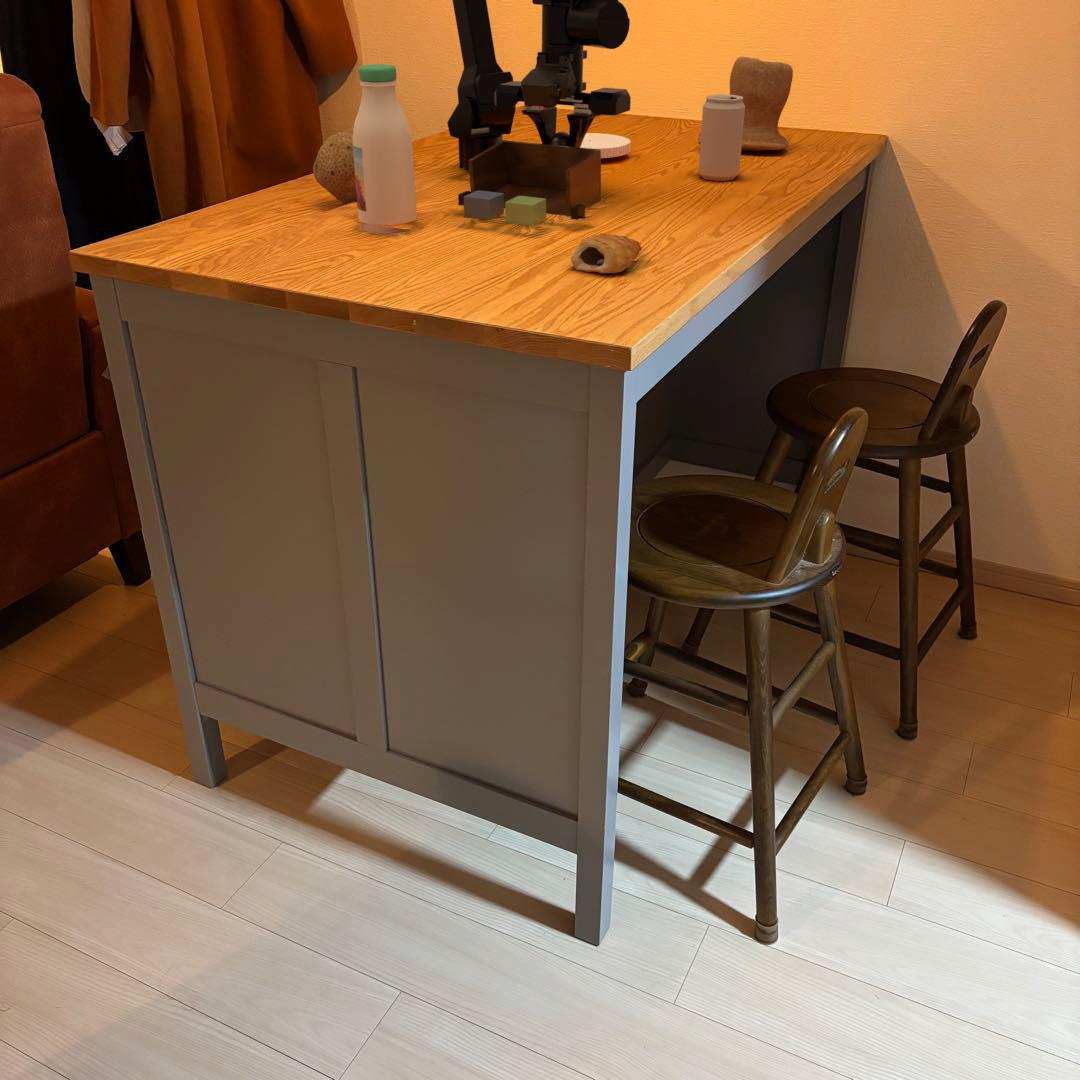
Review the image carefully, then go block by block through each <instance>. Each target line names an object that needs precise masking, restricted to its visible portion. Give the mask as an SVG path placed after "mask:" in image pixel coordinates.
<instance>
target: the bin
mask: <svg viewBox="0 0 1080 1080" xmlns="http://www.w3.org/2000/svg"><path fill="white" fill-rule="evenodd" d="M568 145H569V132H566V131H557V132H556V134H555V135H554V136H553V137H552V139H551V145H549V144H542V143H538V142H535V143H534V142H527V141H517V140H506V139H503V140H502V141H501V142H499V143H497V144H496V145H494V146H492V147H490V148H489V149H487V150H485V151H483V152H482V153H480V154H478V155H477V156H475V157H473V158H471V159H470V160H468V161H469V171H468V173H469V186H470V191H471V193H473V192H475V191H478V190H480V191H488V192H497V193H504V209H505V202H507V201H509V200H511V199H513V198H515V197H517V196H527V197H535V198H544V199H546V215H547V214H548V215H556V216H563V217H571V208H572V207H574V206H576V205H578V204H583V205H585V210H586V209H587V208H589V207H591V206H593V205H595V204H597V203H599V202H600V201H601V200H602V158H601V150H600V149H591V148H580V147H570V146H568Z"/></svg>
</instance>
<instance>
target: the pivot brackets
mask: <svg viewBox="0 0 1080 1080" xmlns="http://www.w3.org/2000/svg"><path fill="white" fill-rule="evenodd" d="M468 194H471V190H466V191H463V192H460V193H458V194H457V196H458V202H457V204H458V206H463V207H464V196H466V195H468ZM570 219H571V220H575V221H577V220H580V219H581V220H582V219H583V220H585V219H587V216H586V209H585V205H583V204H578V205H576V206H574V207H572V208H571V216H570Z"/></svg>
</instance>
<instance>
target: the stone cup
mask: <svg viewBox="0 0 1080 1080" xmlns="http://www.w3.org/2000/svg"><path fill="white" fill-rule="evenodd" d="M793 78H794V70H793V67H792V65H791V64H789V63H787V62H781V61H766V60H761V59H759V58H756V57H750V56H749V57H748V56H738V57H737V58H736V60H735V61H734V63H733V65H732V68H731V71H730V76H729V95H738V96H742V97H743V100H742V101H743V103H744V105H745V113H744V124H743V135H742V147H741V152H743V151H744V152H762V151H763V152H764V151H779V150H783V149H786V148H787V147H788V146H789V140H788V139H787V138H786V137H785V136H783V135H781V134H780V132H779V128H778V127H779V121H780V117H781V115H782V113H783V110H784V108H785V106H786V104H787V102H788V99H789V96H790V93H791V87H792V83H793ZM697 137H698V139H697V143H698V145H700V143H701V131H700V132H699V134H698V136H697Z"/></svg>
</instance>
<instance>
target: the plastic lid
mask: <svg viewBox="0 0 1080 1080" xmlns="http://www.w3.org/2000/svg"><path fill="white" fill-rule="evenodd" d="M631 145H632V141H631V139H630V138H628V137H626V136H621V135H618V134H617V135H616V134H610V133H599V132H598V133H597V132H595V133H594V132H586V135H585V137H584V139H583V142H582V144H581V147H580V148H591V149H600V150H601V159H608V158H617V157H621V156H625V155H627V154H630V152H631Z"/></svg>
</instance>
